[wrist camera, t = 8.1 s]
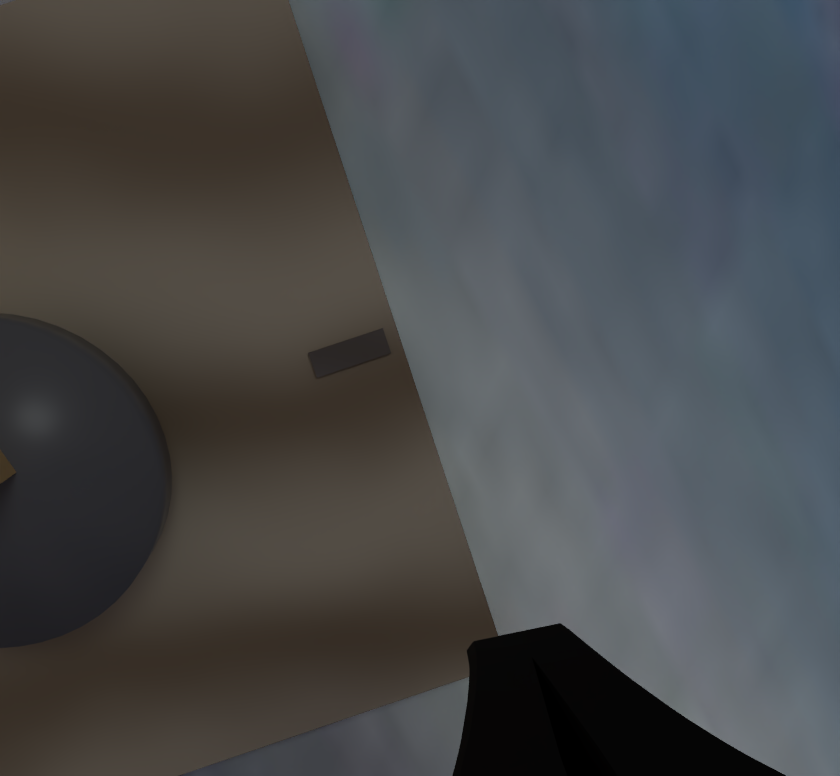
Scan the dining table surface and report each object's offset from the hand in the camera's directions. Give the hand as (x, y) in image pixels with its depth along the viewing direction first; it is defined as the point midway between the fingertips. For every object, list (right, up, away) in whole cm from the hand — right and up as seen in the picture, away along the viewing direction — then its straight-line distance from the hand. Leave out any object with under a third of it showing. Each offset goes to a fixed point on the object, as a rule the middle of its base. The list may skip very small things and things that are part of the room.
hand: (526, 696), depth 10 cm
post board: (-11, +3, +8) cm, 14 cm away
